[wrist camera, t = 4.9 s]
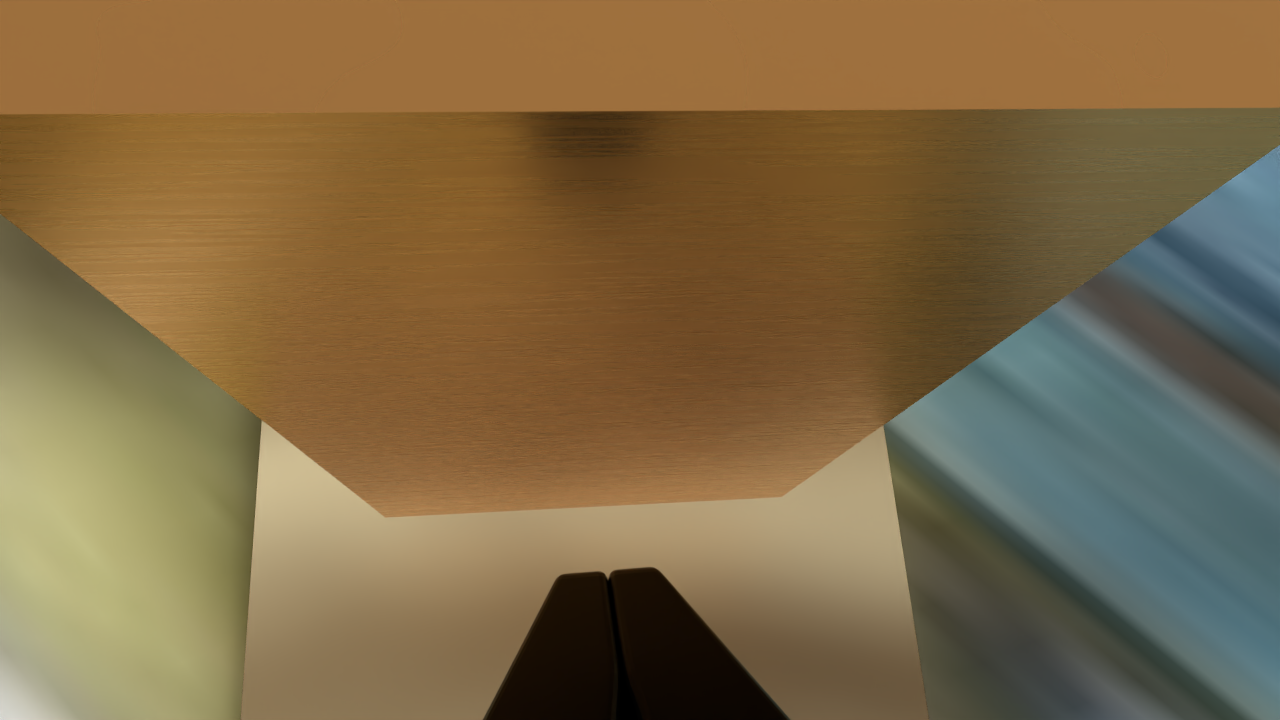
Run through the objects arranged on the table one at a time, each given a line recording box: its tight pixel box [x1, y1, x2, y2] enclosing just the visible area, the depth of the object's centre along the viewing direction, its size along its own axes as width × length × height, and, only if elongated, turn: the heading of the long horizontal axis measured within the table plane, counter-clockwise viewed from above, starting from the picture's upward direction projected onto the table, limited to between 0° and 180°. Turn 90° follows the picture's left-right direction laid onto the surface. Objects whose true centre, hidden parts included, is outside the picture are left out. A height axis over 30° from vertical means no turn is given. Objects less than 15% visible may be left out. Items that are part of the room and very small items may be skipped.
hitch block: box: [241, 421, 929, 720], centre depth 14 cm, size 18×12×10 cm, turn 3°
